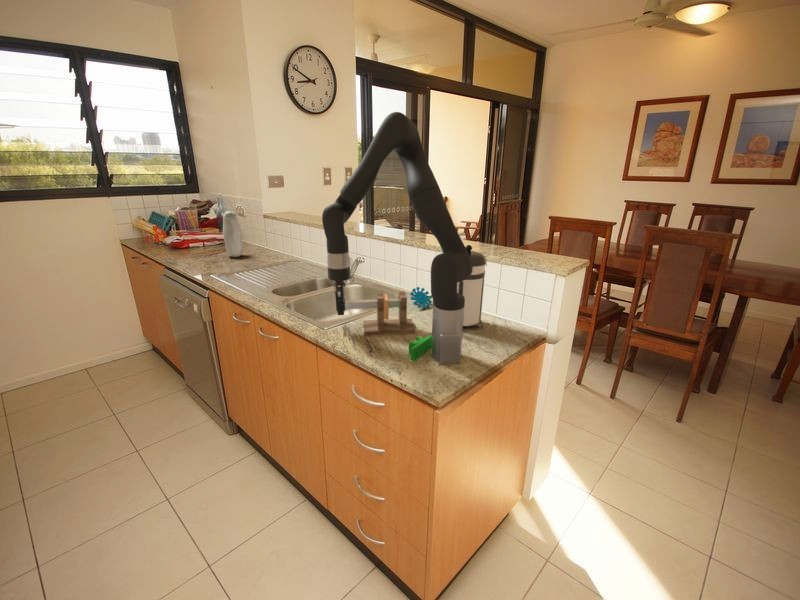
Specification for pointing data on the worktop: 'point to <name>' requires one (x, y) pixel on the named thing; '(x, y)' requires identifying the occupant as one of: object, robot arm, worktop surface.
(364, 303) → the shaft
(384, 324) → the stand
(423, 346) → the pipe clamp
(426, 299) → the teal spiky round piece
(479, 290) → the coffee press
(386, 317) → the spacer
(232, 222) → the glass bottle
